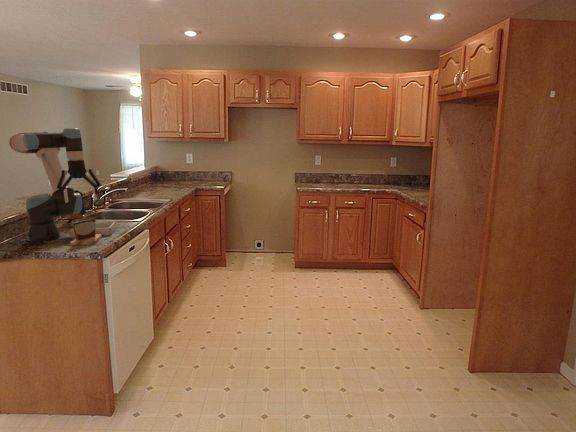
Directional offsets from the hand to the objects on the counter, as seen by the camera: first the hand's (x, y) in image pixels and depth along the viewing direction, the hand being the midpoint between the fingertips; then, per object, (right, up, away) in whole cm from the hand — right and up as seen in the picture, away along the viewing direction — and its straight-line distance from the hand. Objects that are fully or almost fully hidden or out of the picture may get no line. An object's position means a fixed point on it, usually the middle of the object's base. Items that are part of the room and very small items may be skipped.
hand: (81, 201), depth 206 cm
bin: (-3, -17, +20) cm, 27 cm away
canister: (-29, -11, +52) cm, 61 cm away
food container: (0, -19, +3) cm, 19 cm away
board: (+1, -20, +4) cm, 21 cm away
